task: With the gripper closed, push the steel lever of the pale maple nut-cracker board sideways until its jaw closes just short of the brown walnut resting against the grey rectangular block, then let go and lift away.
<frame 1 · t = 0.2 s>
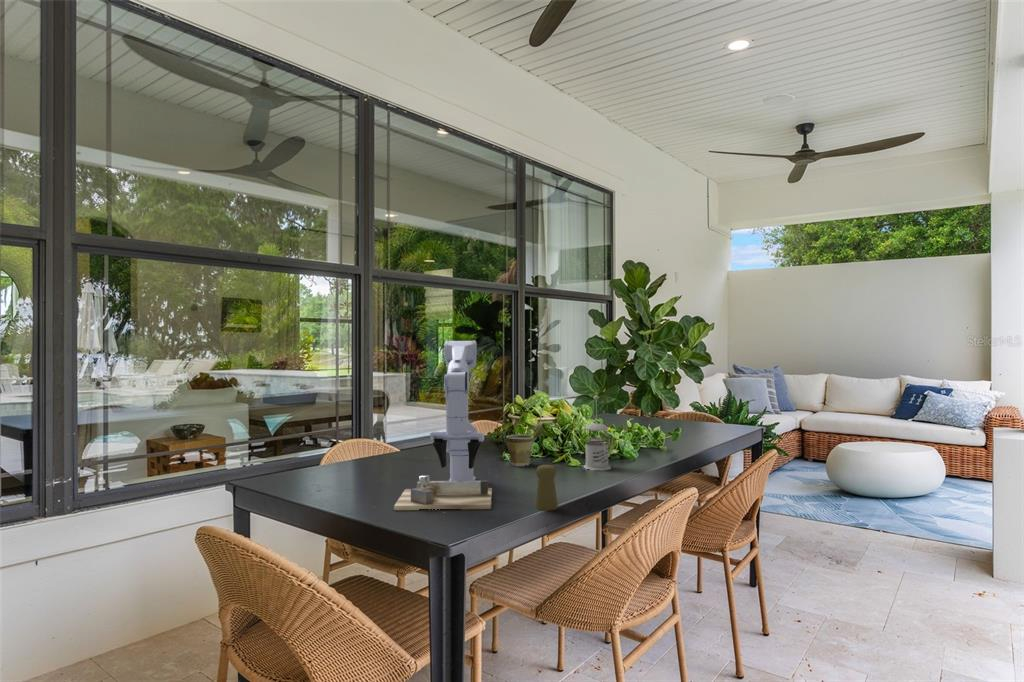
hand: (457, 467, 162), 10 cm above the table, tool pointing down, fingers open, 7 cm apart
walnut: (430, 504, 162), resting on cracker board
cracker board: (445, 500, 166), on the table
grey rectangular block: (421, 506, 160), resting on cracker board
french press: (598, 467, 210), on the table
pepper mill: (546, 508, 158), on the table
lever: (452, 484, 168), point 4 cm above the table, hinge at 0.0°
flower pot: (520, 464, 217), on the table
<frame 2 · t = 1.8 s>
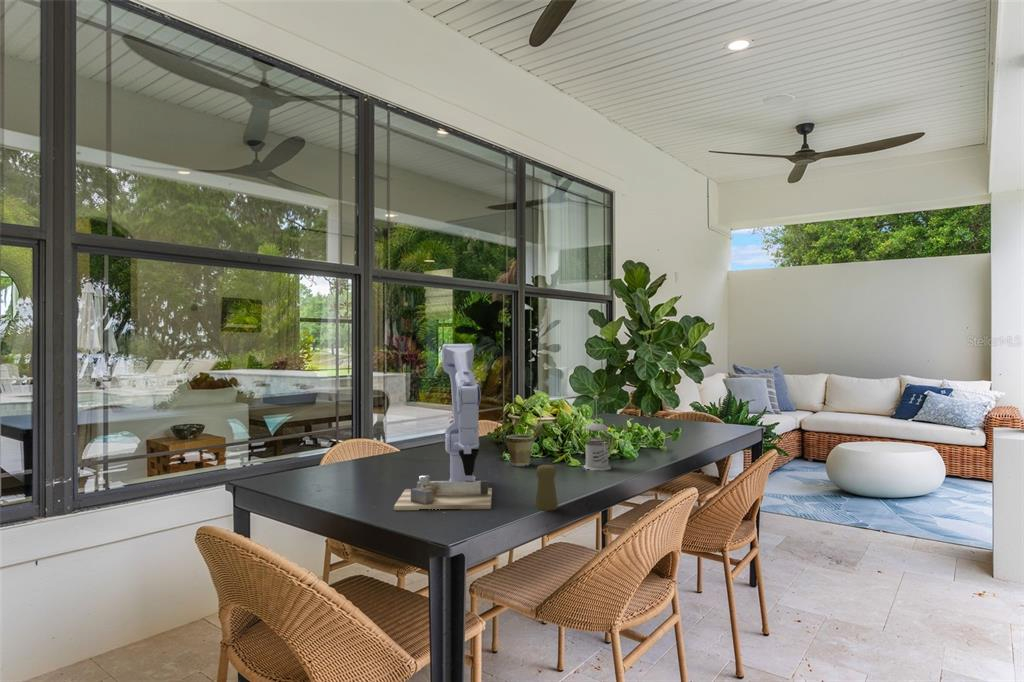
hand: (469, 475, 173), 5 cm above the table, tool pointing down, fingers closed
nothing on the table moved.
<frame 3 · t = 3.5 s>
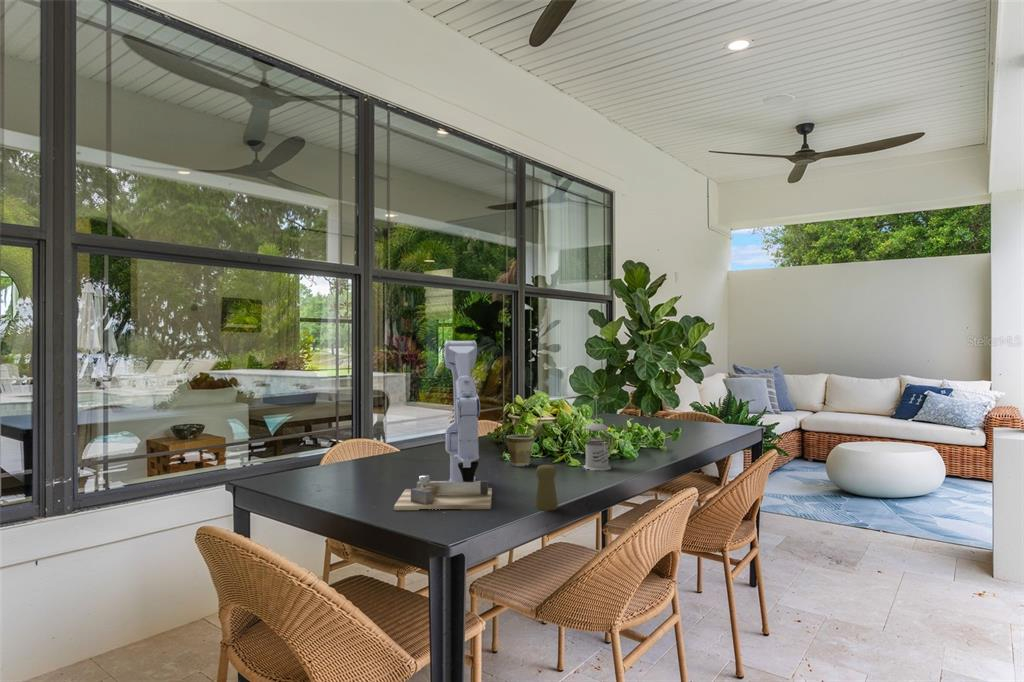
hand: (468, 488, 170), 2 cm above the table, tool pointing down, fingers closed
lever: (452, 484, 168), point 4 cm above the table, hinge at 0.9°, touching gripper
everything else where it was.
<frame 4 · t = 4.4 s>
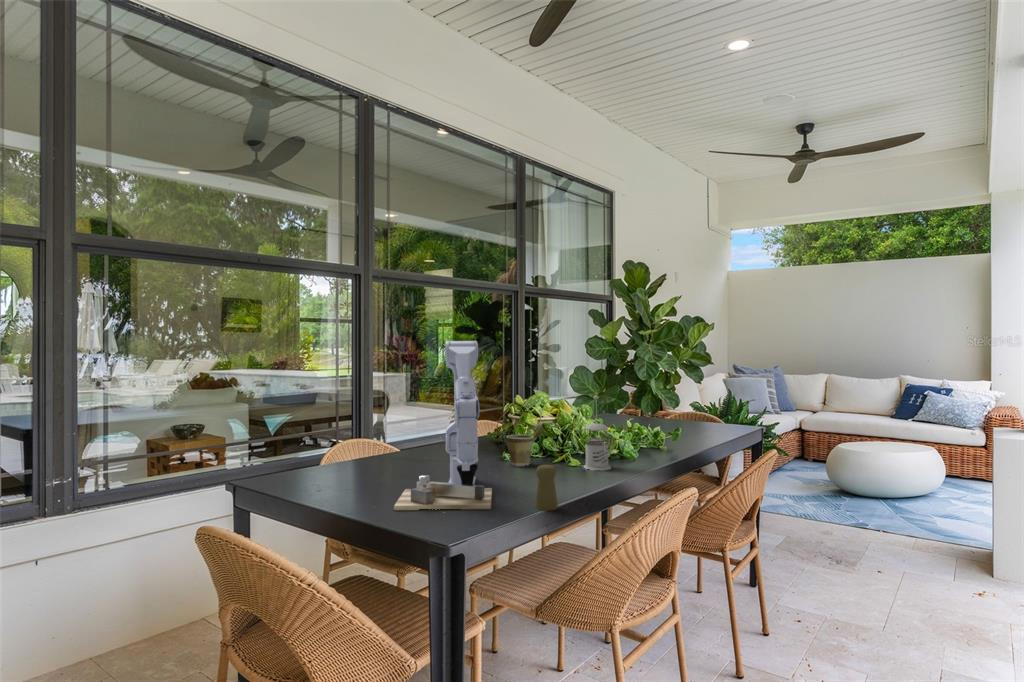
hand: (467, 491, 166), 2 cm above the table, tool pointing down, fingers closed
lever: (449, 486, 165), point 4 cm above the table, hinge at 20.8°, touching gripper
everything else where it was.
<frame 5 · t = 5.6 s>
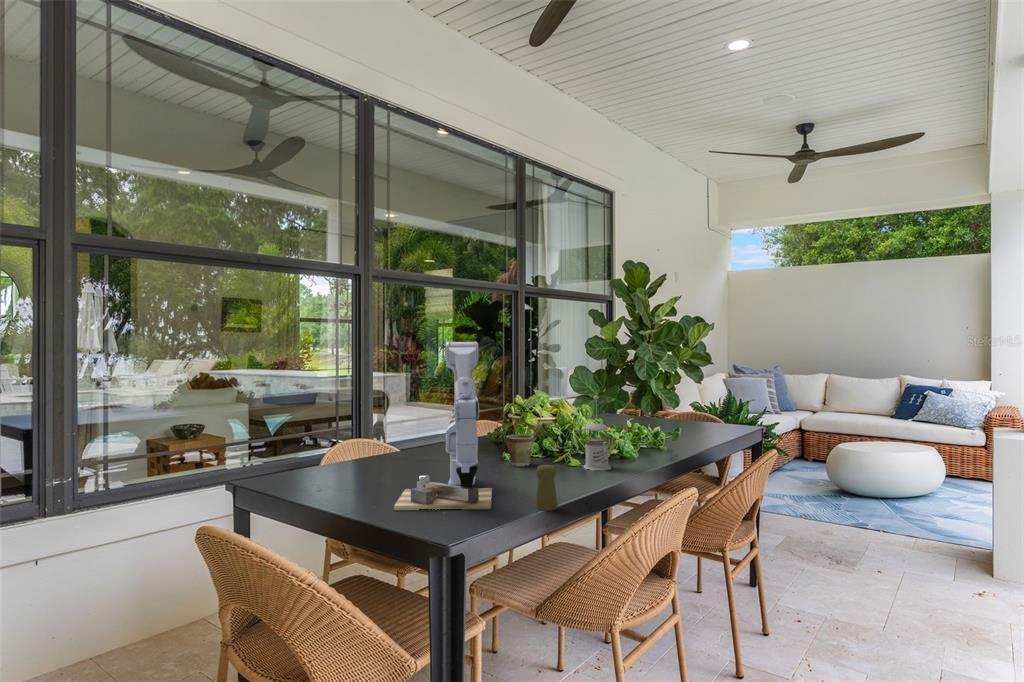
hand: (467, 494, 163), 2 cm above the table, tool pointing down, fingers closed
lever: (446, 488, 164), point 4 cm above the table, hinge at 32.7°, touching gripper
everything else where it was.
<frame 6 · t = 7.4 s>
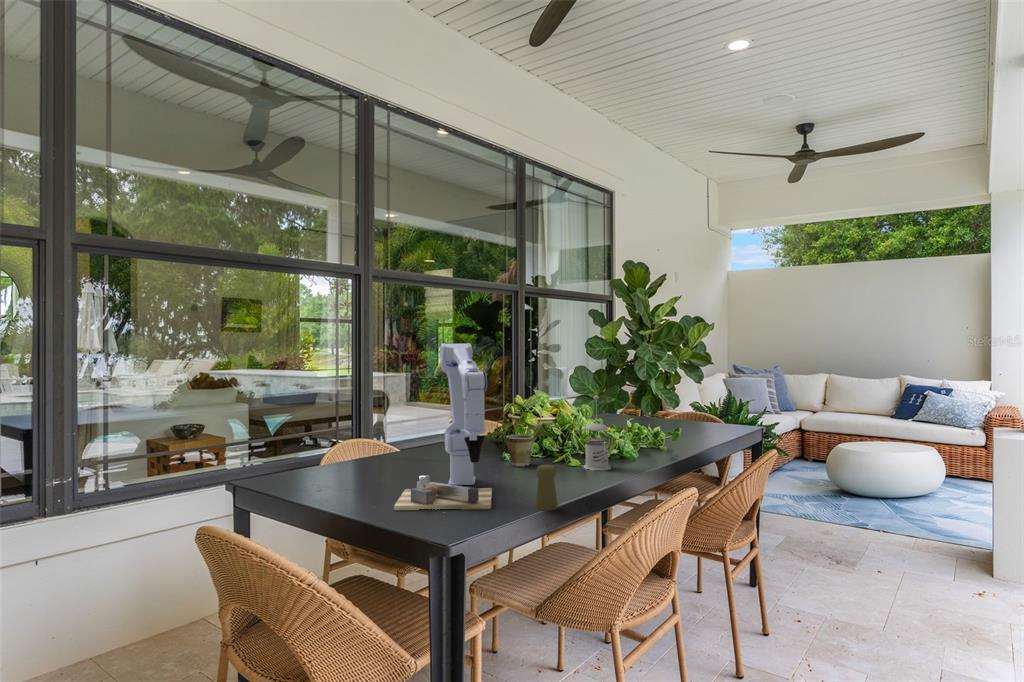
hand: (474, 462, 172), 9 cm above the table, tool pointing down, fingers closed
lever: (446, 488, 164), point 4 cm above the table, hinge at 32.8°
everything else where it was.
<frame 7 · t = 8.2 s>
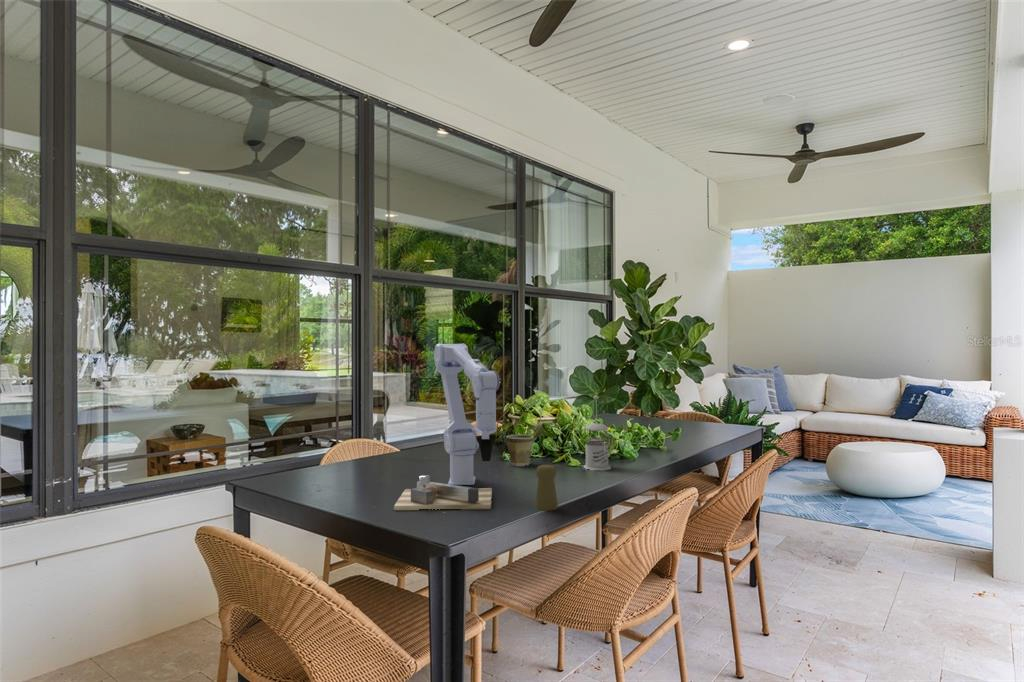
hand: (486, 460, 174), 9 cm above the table, tool pointing down, fingers closed
nothing on the table moved.
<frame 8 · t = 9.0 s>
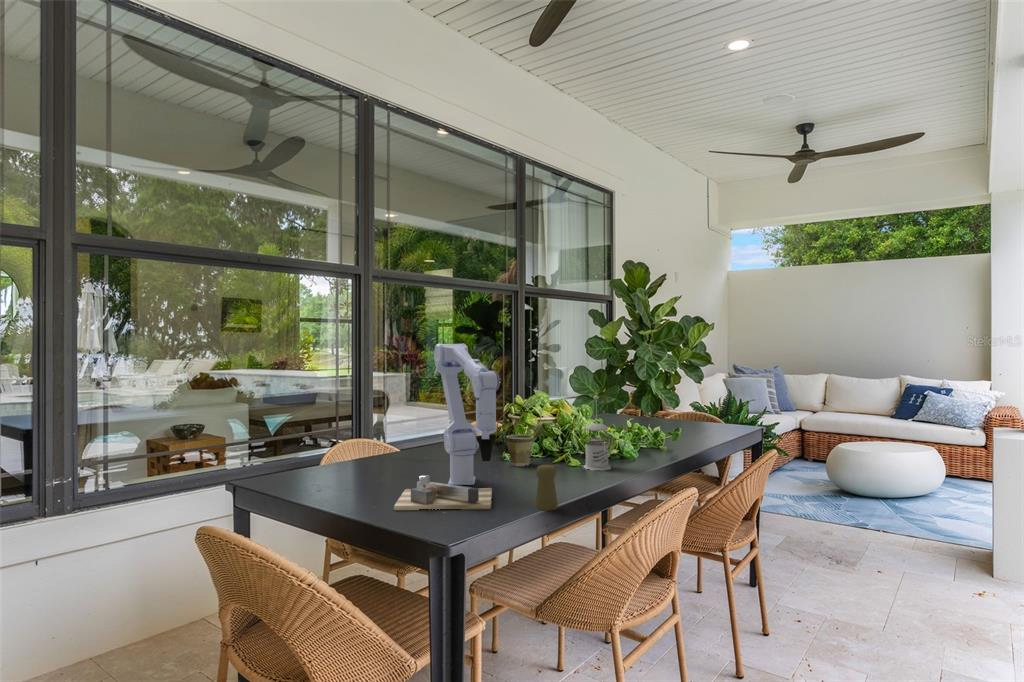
hand: (486, 460, 174), 9 cm above the table, tool pointing down, fingers closed
nothing on the table moved.
at the end: lever at +33° (first picture: +0°); pepper mill moved 0.2 cm from its start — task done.
